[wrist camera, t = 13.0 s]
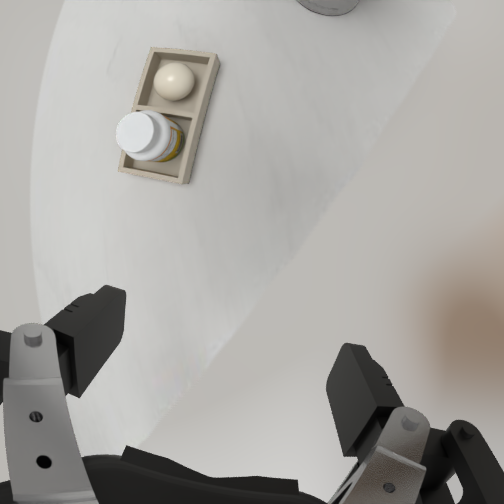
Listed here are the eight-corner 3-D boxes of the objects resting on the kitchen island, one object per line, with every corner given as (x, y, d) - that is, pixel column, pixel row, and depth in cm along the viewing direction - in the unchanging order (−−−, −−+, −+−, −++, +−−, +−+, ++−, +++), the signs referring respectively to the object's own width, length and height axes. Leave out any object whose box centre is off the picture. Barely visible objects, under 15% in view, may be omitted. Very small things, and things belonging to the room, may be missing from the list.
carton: (159, 56, 32) (150, 47, 29) (220, 63, 33) (216, 53, 29) (129, 171, 36) (117, 171, 33) (188, 183, 37) (181, 184, 33)
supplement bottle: (137, 134, 35) (101, 124, 25) (174, 111, 34) (146, 93, 24) (155, 170, 36) (122, 170, 26) (192, 149, 35) (170, 141, 26)
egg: (166, 67, 32) (154, 55, 28) (202, 71, 32) (194, 58, 28) (156, 101, 34) (142, 93, 29) (192, 107, 34) (182, 98, 29)
